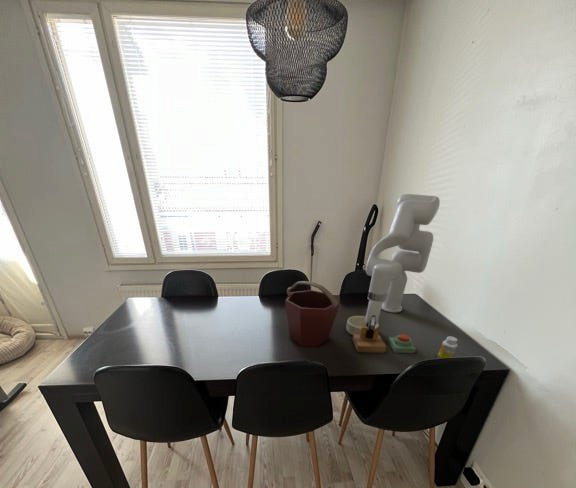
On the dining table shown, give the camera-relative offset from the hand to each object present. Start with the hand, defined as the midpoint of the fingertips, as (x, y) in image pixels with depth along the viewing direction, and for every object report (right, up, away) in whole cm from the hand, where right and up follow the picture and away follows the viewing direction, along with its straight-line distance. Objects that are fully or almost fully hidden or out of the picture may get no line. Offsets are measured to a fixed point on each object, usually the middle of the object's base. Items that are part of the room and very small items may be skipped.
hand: (369, 333), depth 130 cm
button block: (+15, -6, +1) cm, 16 cm away
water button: (+15, -3, -1) cm, 15 cm away
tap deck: (0, -5, +2) cm, 5 cm away
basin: (-1, +2, +12) cm, 13 cm away
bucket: (-26, -1, +6) cm, 27 cm away
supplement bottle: (+30, -12, -6) cm, 33 cm away
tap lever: (0, -2, +1) cm, 2 cm away
